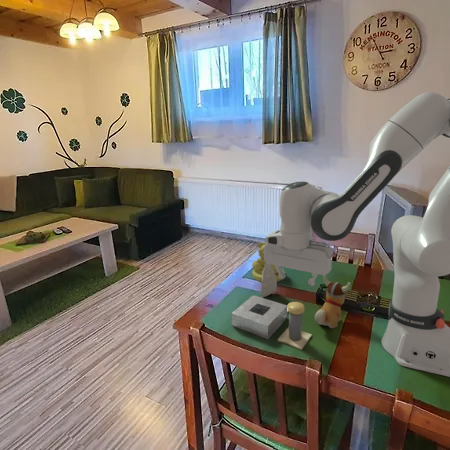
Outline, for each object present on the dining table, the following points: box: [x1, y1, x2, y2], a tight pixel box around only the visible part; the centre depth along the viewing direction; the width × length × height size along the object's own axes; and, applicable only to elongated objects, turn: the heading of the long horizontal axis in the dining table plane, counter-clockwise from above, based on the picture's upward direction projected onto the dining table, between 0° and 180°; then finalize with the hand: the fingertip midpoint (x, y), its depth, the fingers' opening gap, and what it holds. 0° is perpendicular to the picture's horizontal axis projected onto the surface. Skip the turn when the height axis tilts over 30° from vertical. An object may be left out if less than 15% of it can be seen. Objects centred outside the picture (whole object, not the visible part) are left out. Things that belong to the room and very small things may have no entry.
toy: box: [314, 275, 352, 329], centre depth 110 cm, size 10×16×15 cm, turn 135°
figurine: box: [251, 241, 285, 283], centre depth 146 cm, size 15×14×15 cm
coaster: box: [277, 326, 312, 351], centre depth 105 cm, size 8×8×1 cm
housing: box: [231, 295, 288, 340], centre depth 114 cm, size 14×14×5 cm
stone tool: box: [260, 263, 278, 298], centre depth 129 cm, size 8×3×15 cm, turn 127°
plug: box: [286, 301, 306, 341], centre depth 103 cm, size 5×5×11 cm
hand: (296, 281), depth 99 cm, fingers open, 8 cm apart
